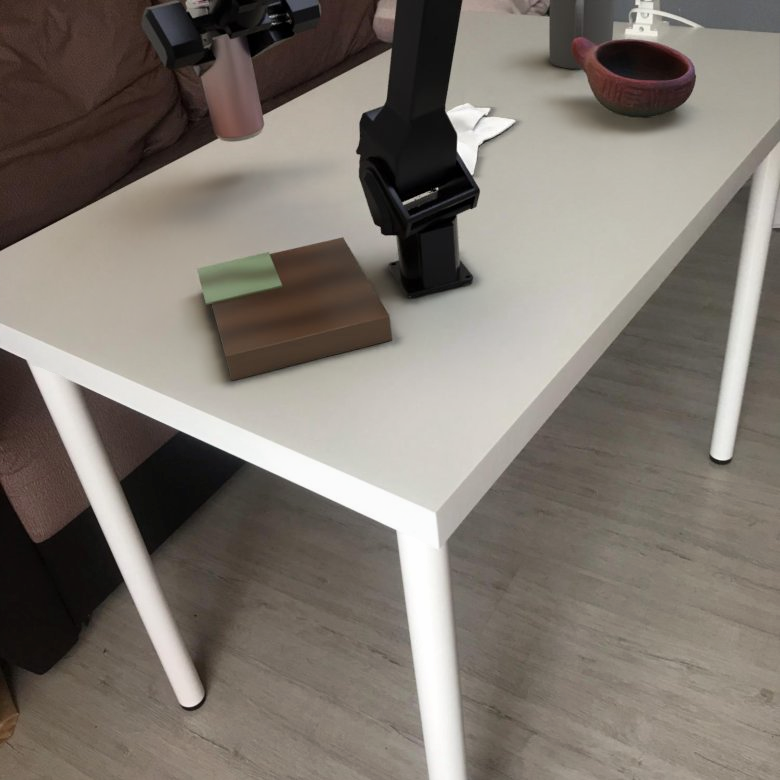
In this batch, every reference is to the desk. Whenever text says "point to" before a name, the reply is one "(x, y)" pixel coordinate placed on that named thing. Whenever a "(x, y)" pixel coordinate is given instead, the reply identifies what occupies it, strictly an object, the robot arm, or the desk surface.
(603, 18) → the mug
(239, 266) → the brown wooden board
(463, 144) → the cloth
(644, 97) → the bowl
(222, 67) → the beverage can
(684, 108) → the desk surface
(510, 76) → the desk surface
